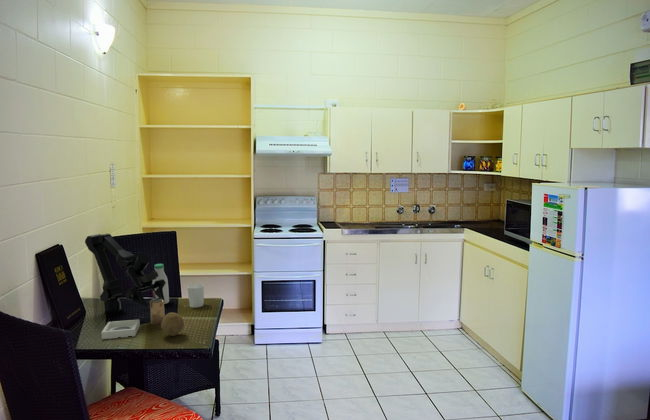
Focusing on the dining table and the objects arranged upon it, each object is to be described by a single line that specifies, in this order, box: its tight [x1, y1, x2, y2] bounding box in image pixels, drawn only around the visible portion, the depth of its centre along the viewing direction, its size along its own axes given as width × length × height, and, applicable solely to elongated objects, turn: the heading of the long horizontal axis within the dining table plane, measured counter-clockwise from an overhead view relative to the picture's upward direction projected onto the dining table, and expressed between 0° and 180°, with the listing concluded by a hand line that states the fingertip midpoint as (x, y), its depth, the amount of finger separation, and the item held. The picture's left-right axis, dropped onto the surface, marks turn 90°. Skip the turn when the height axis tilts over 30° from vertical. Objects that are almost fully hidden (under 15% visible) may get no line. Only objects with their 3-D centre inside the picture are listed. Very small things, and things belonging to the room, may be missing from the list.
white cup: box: [186, 283, 205, 309], centre depth 250 cm, size 8×8×10 cm
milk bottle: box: [151, 263, 170, 305], centre depth 255 cm, size 8×8×20 cm
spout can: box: [149, 298, 166, 326], centre depth 225 cm, size 8×6×11 cm
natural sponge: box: [160, 312, 185, 337], centre depth 209 cm, size 9×9×10 cm
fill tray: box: [101, 319, 141, 340], centre depth 215 cm, size 13×13×3 cm
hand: (155, 303), depth 226 cm, fingers open, 9 cm apart
